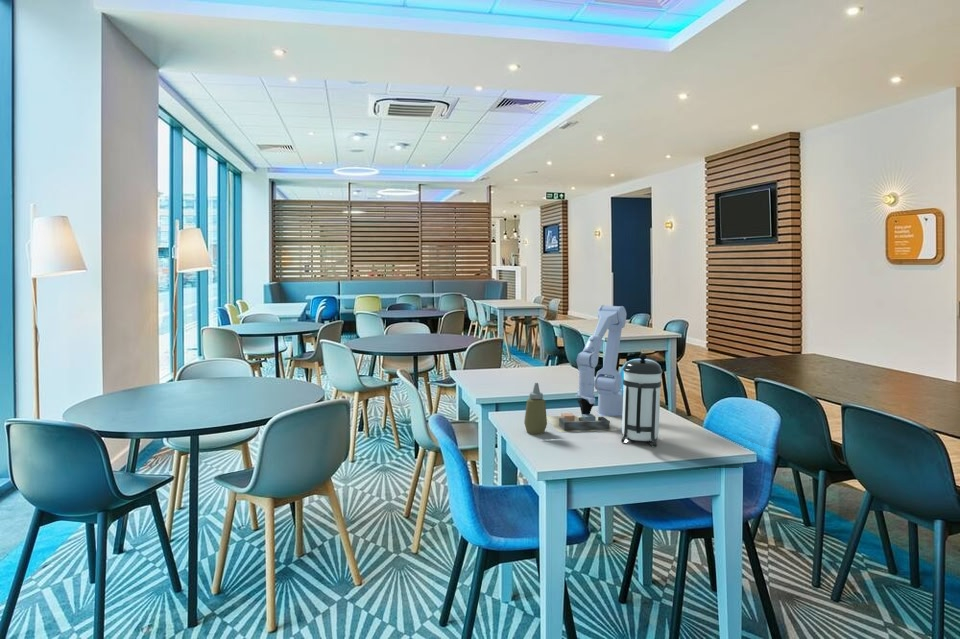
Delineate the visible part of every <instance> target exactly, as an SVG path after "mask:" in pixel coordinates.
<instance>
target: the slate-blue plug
mask: <svg viewBox="0 0 960 639" xmlns="http://www.w3.org/2000/svg"><path fill="white" fill-rule="evenodd" d="M581 416H582V417H584V418H586V419H587V420H588V421H595V419H596V417H595V416H594V414H593V413H590V414H581Z"/></svg>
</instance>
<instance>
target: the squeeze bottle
mask: <svg viewBox="0 0 960 639" xmlns="http://www.w3.org/2000/svg"><path fill="white" fill-rule="evenodd" d="M547 417H548V416H547V406H546V400H545V399H544V394H543V392H541V391H540V386H539V383H538V382H535V383H534V386H533V389H532V391H531V392H529V398H528V399H527V400H526V406H525V414H524V426H525V430H526V433H527V434H530V435H542V434H545V430H546V428H547V426H548V421H547Z"/></svg>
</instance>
